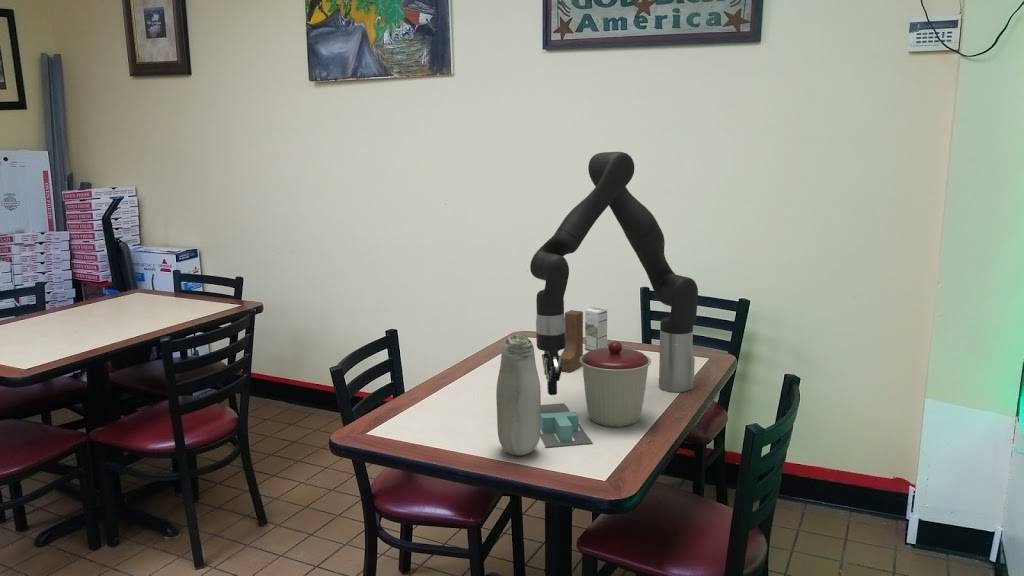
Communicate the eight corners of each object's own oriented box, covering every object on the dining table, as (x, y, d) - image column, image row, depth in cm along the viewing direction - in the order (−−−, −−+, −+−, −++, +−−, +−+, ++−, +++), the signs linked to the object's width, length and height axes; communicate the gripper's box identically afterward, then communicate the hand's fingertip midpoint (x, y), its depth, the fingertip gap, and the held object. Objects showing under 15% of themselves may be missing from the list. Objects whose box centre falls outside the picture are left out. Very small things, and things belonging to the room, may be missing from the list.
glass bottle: (543, 460, 170) (542, 341, 165) (498, 462, 169) (496, 343, 164) (538, 443, 180) (537, 330, 174) (496, 444, 179) (493, 331, 174)
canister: (663, 419, 194) (665, 341, 190) (621, 439, 181) (622, 356, 177) (607, 403, 206) (608, 329, 202) (565, 421, 194) (564, 342, 190)
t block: (575, 426, 189) (575, 411, 188) (584, 440, 180) (584, 424, 179) (540, 428, 188) (540, 413, 187) (547, 442, 179) (547, 427, 178)
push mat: (564, 404, 206) (564, 403, 206) (592, 444, 179) (592, 442, 179) (523, 407, 204) (523, 406, 204) (545, 448, 177) (545, 446, 177)
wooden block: (570, 373, 233) (570, 317, 230) (557, 370, 236) (557, 315, 232) (583, 365, 241) (583, 311, 237) (570, 363, 243) (570, 309, 240)
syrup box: (607, 349, 259) (608, 308, 256) (597, 352, 255) (597, 311, 252) (594, 346, 263) (595, 306, 260) (584, 349, 259) (584, 309, 256)
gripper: (571, 335, 186) (572, 401, 190) (558, 322, 199) (560, 384, 202) (542, 338, 185) (543, 404, 188) (531, 325, 198) (533, 387, 201)
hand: (552, 394), depth 195 cm, fingers closed
